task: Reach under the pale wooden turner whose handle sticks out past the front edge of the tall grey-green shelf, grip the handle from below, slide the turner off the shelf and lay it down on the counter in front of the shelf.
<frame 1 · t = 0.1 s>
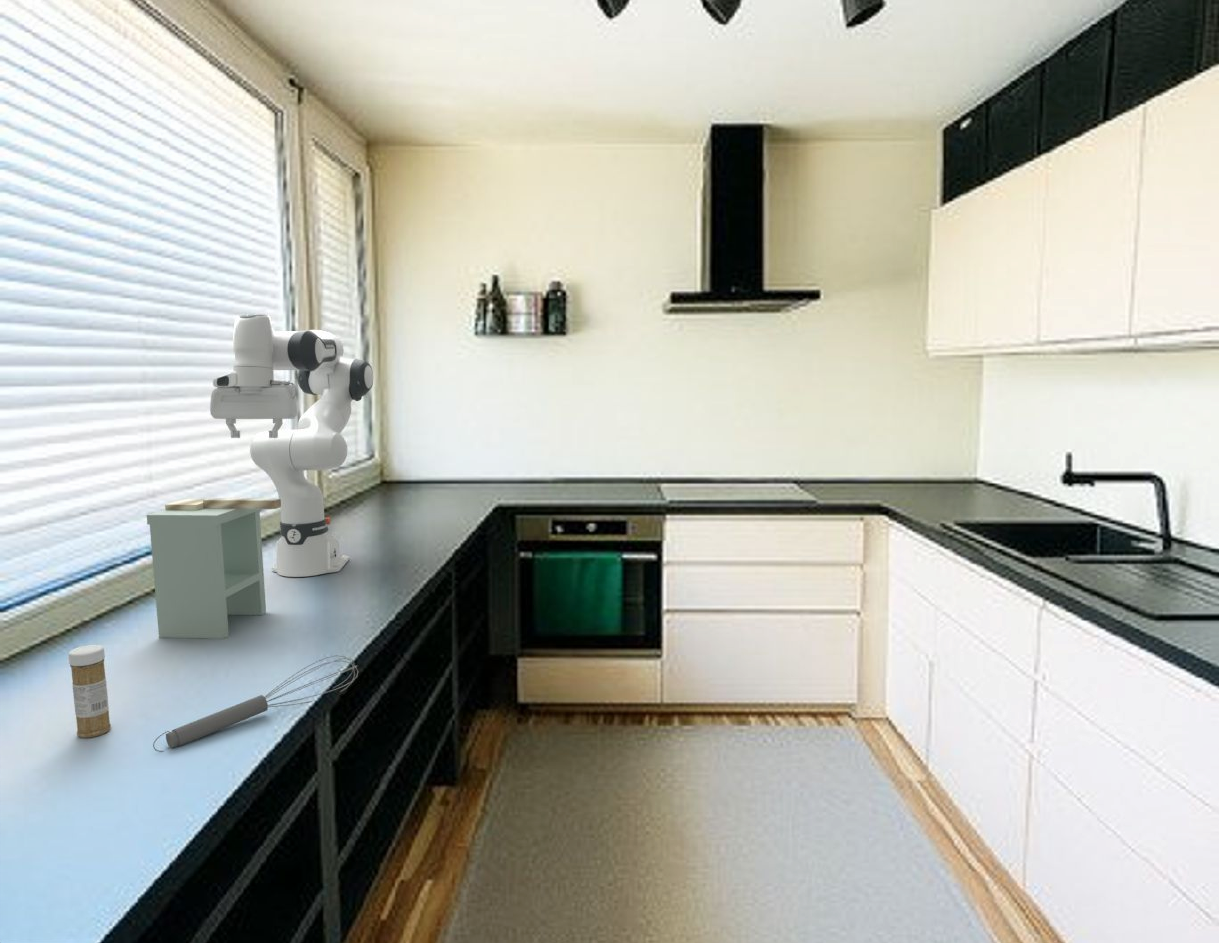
hand: (254, 438, 195), 39 cm above the worktop, tool pointing down, fingers open, 8 cm apart
turner: (206, 507, 174), point 26 cm above the worktop, touching shelf
sprinkles bottle: (94, 733, 126), on the worktop
shelf: (215, 624, 178), on the worktop
kitchen whisk: (269, 717, 132), on the worktop
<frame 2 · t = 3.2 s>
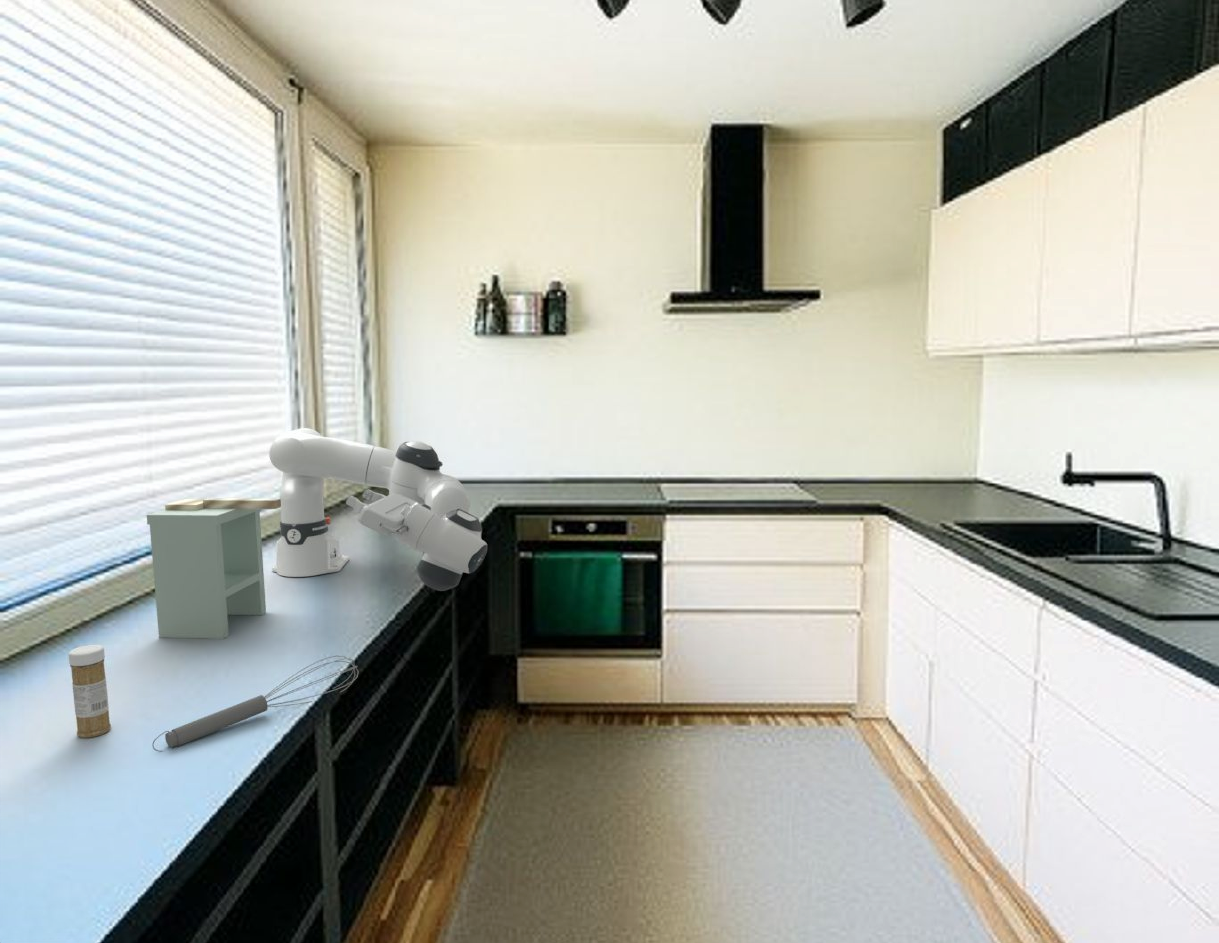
hand: (356, 495, 173), 28 cm above the worktop, tool pointing upward, fingers open, 8 cm apart
nothing on the worktop moved.
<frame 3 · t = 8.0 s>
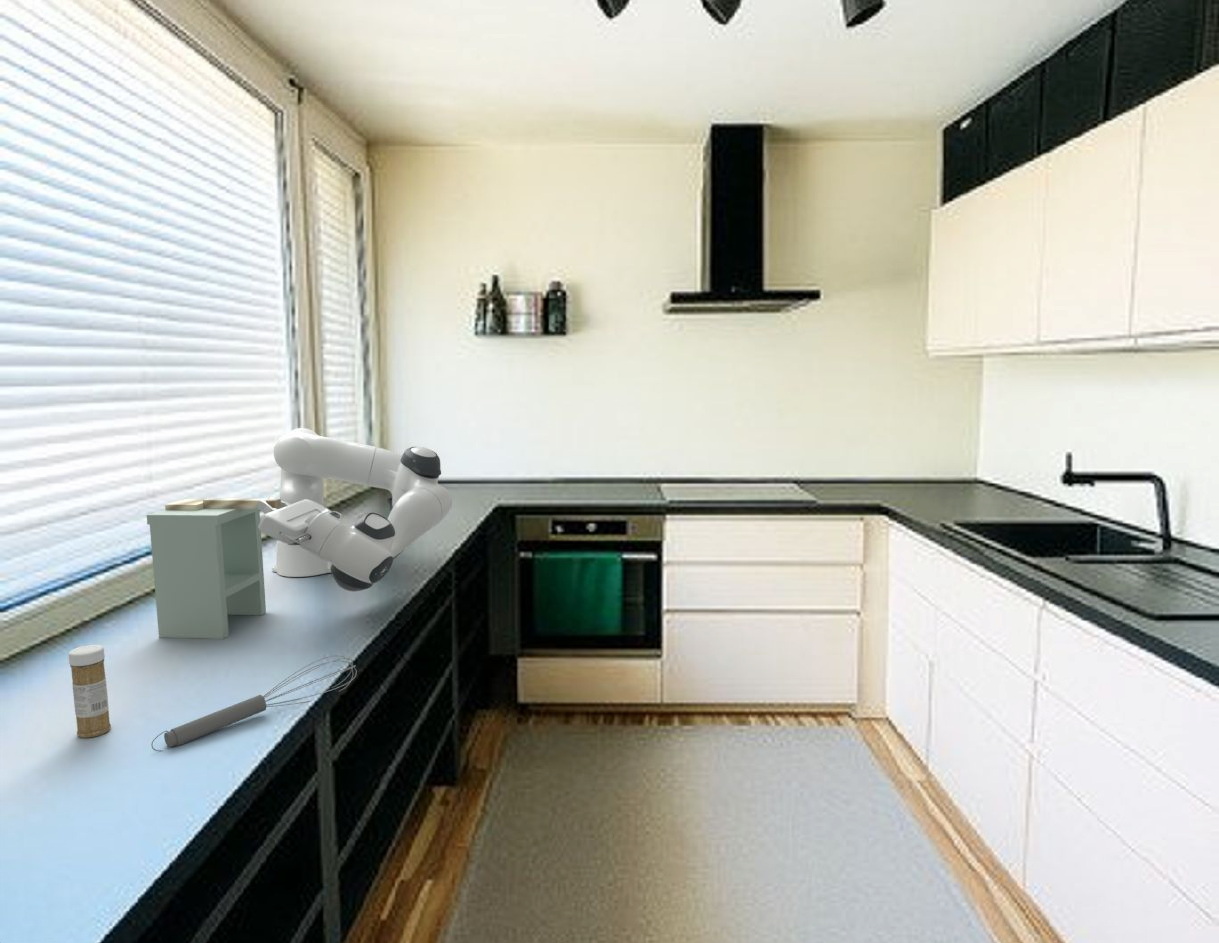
hand: (263, 501, 173), 27 cm above the worktop, tool pointing upward, fingers closed on turner, 2 cm apart
turner: (206, 507, 174), point 26 cm above the worktop, touching gripper, shelf
everything else where it was.
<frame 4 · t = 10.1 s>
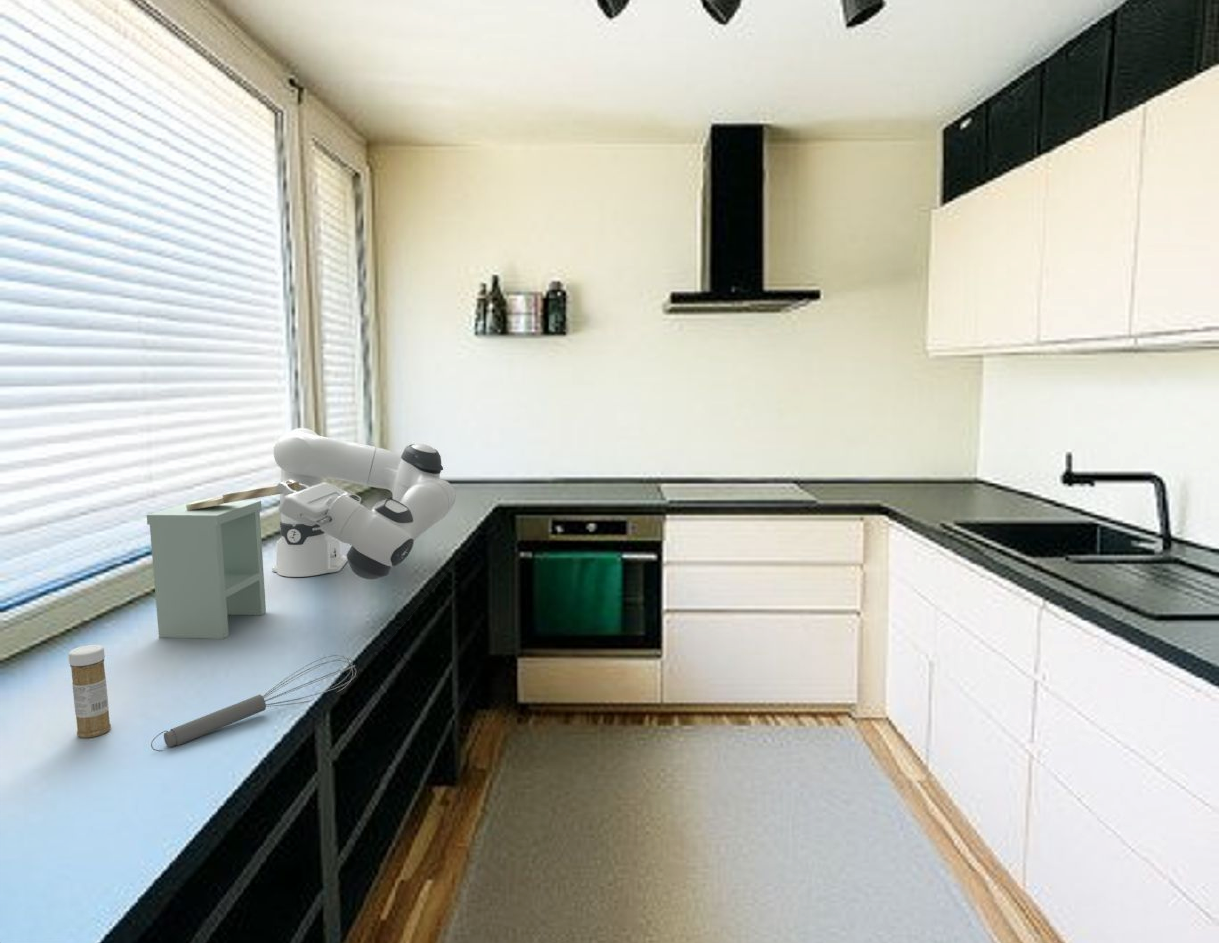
hand: (282, 484, 172), 31 cm above the worktop, tool pointing upward, fingers closed on turner, 2 cm apart
turner: (227, 502, 174), point 27 cm above the worktop, tilted 10°, touching gripper
everything else where it was.
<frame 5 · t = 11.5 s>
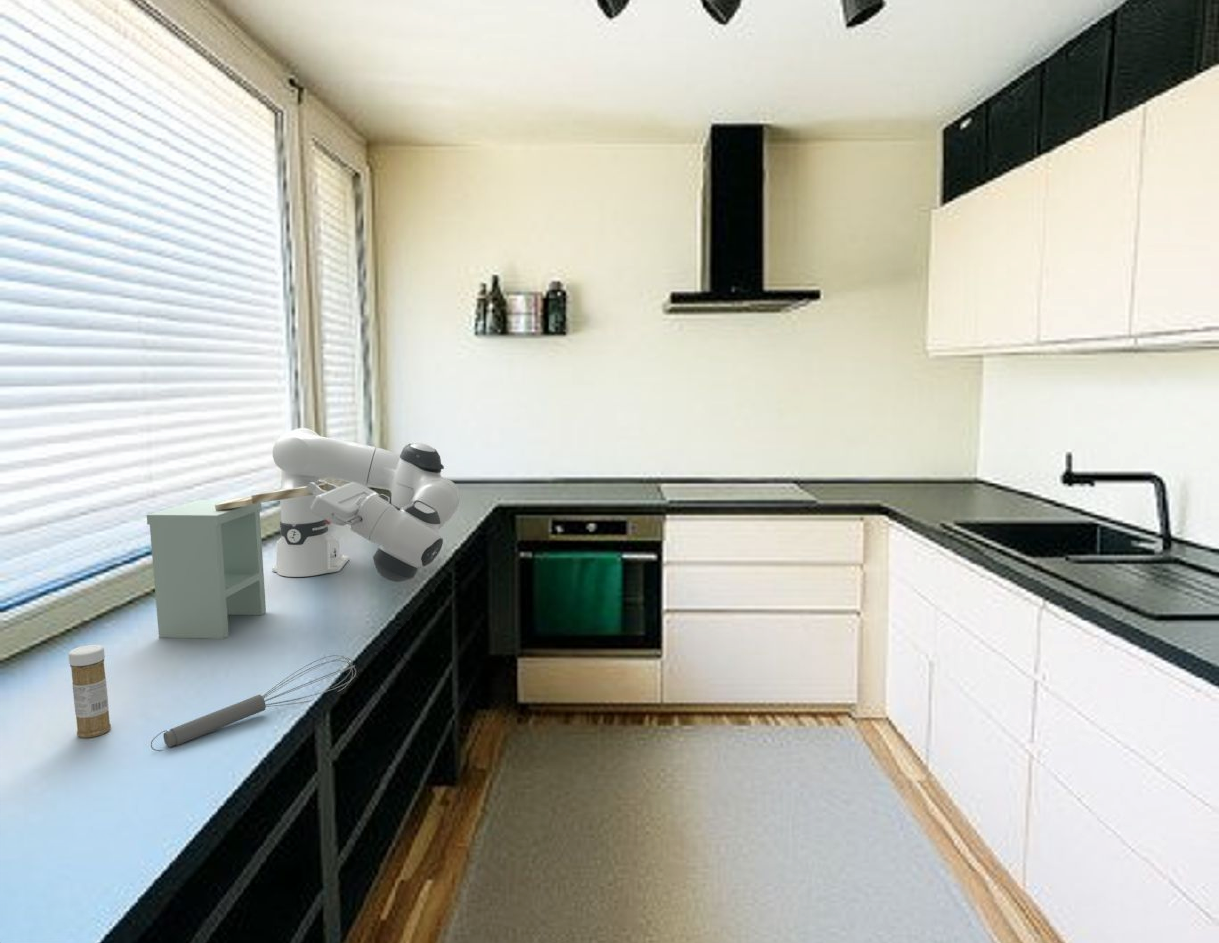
hand: (312, 483, 172), 31 cm above the worktop, tool pointing upward, fingers closed on turner, 2 cm apart
turner: (255, 502, 173), point 27 cm above the worktop, tilted 9°, touching gripper, shelf
everything else where it was.
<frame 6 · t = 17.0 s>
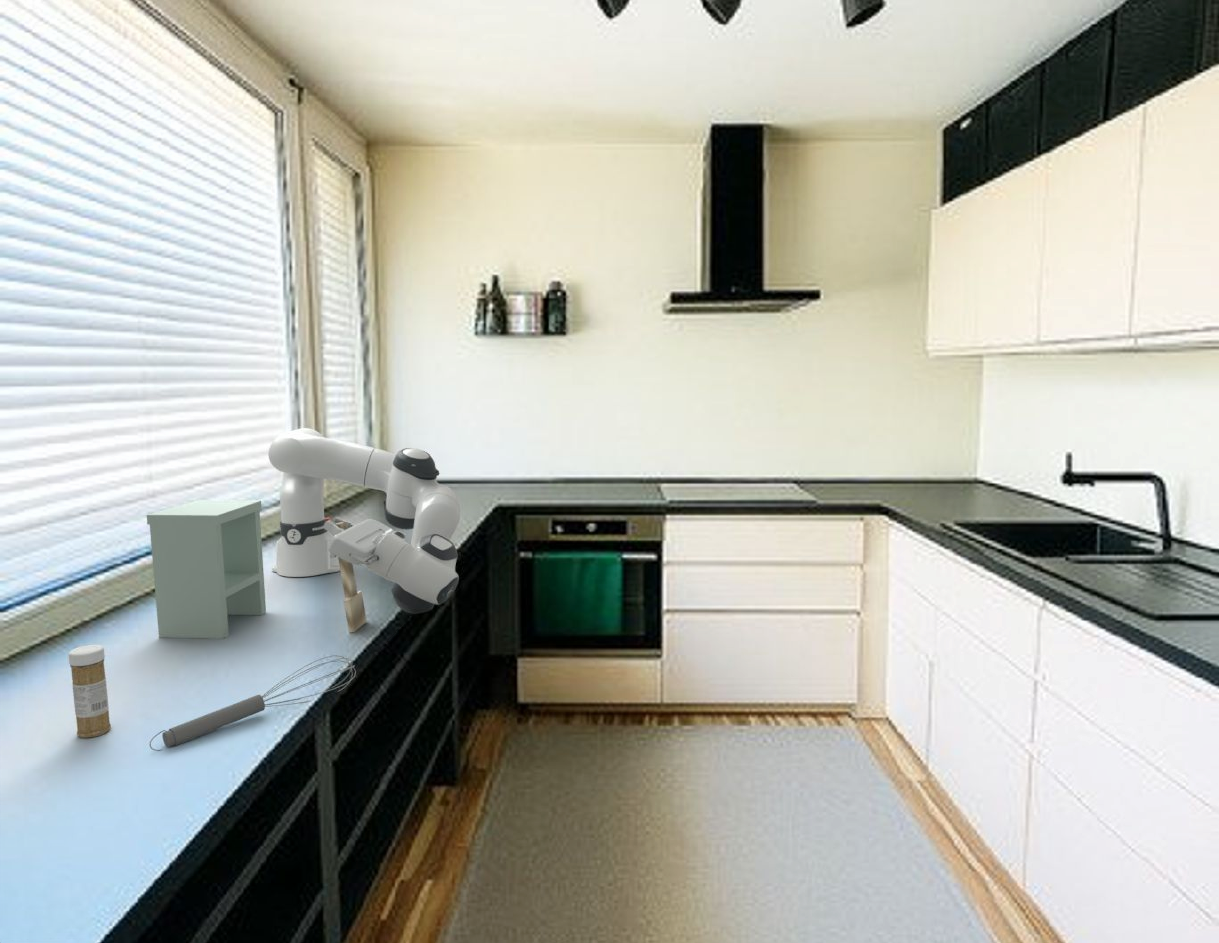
hand: (329, 521, 173), 23 cm above the worktop, tool pointing upward, fingers closed on turner, 2 cm apart
turner: (355, 595, 174), point 7 cm above the worktop, tilted 97°, touching gripper
everything else where it was.
when the fingers open (22 cm above the worktop, at t = 18.1 s): turner drops 5 cm and tips over, point 2 cm above the worktop.
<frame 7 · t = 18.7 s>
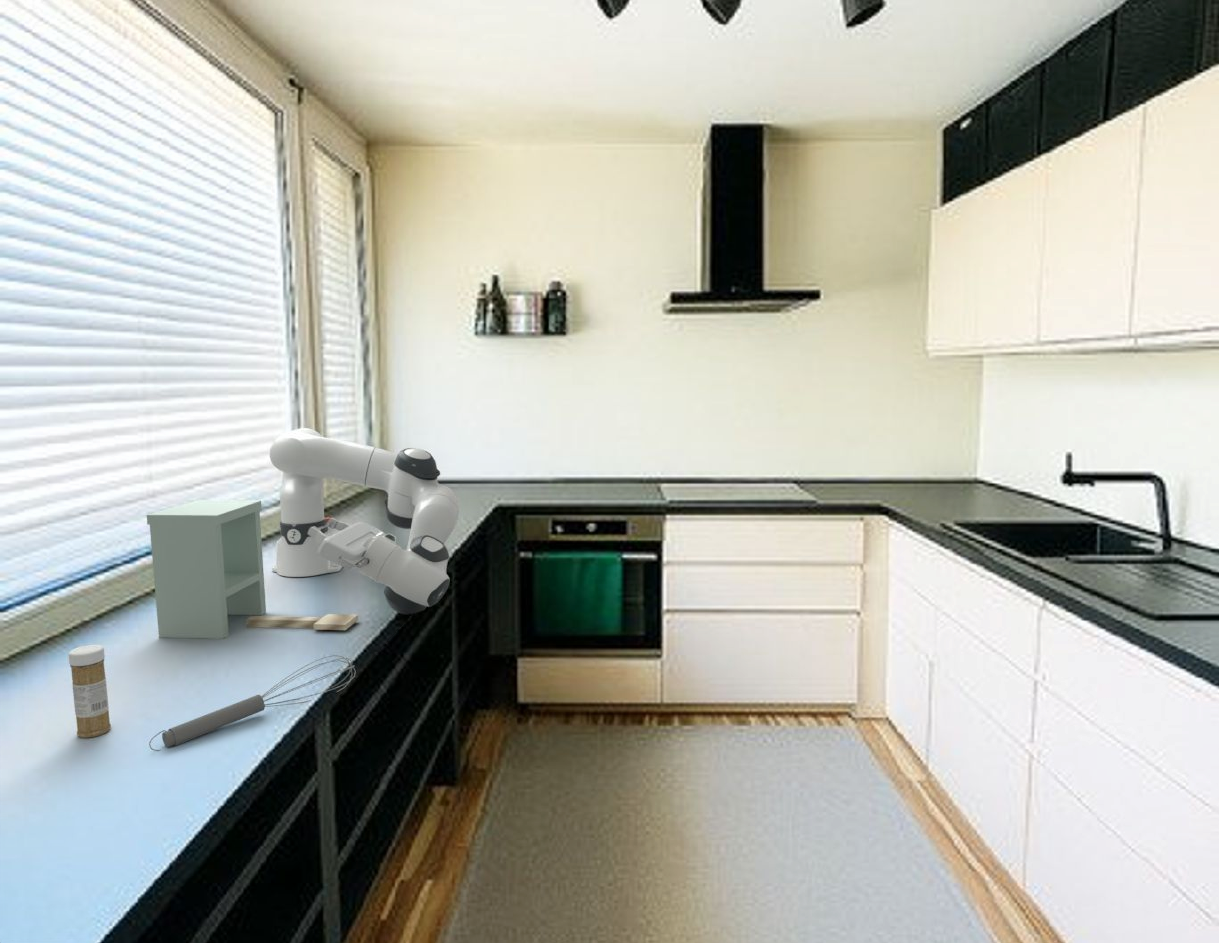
hand: (319, 525, 173), 22 cm above the worktop, tool pointing upward, fingers open, 8 cm apart
turner: (320, 618, 176), point 2 cm above the worktop, tilted 180°
everything else where it was.
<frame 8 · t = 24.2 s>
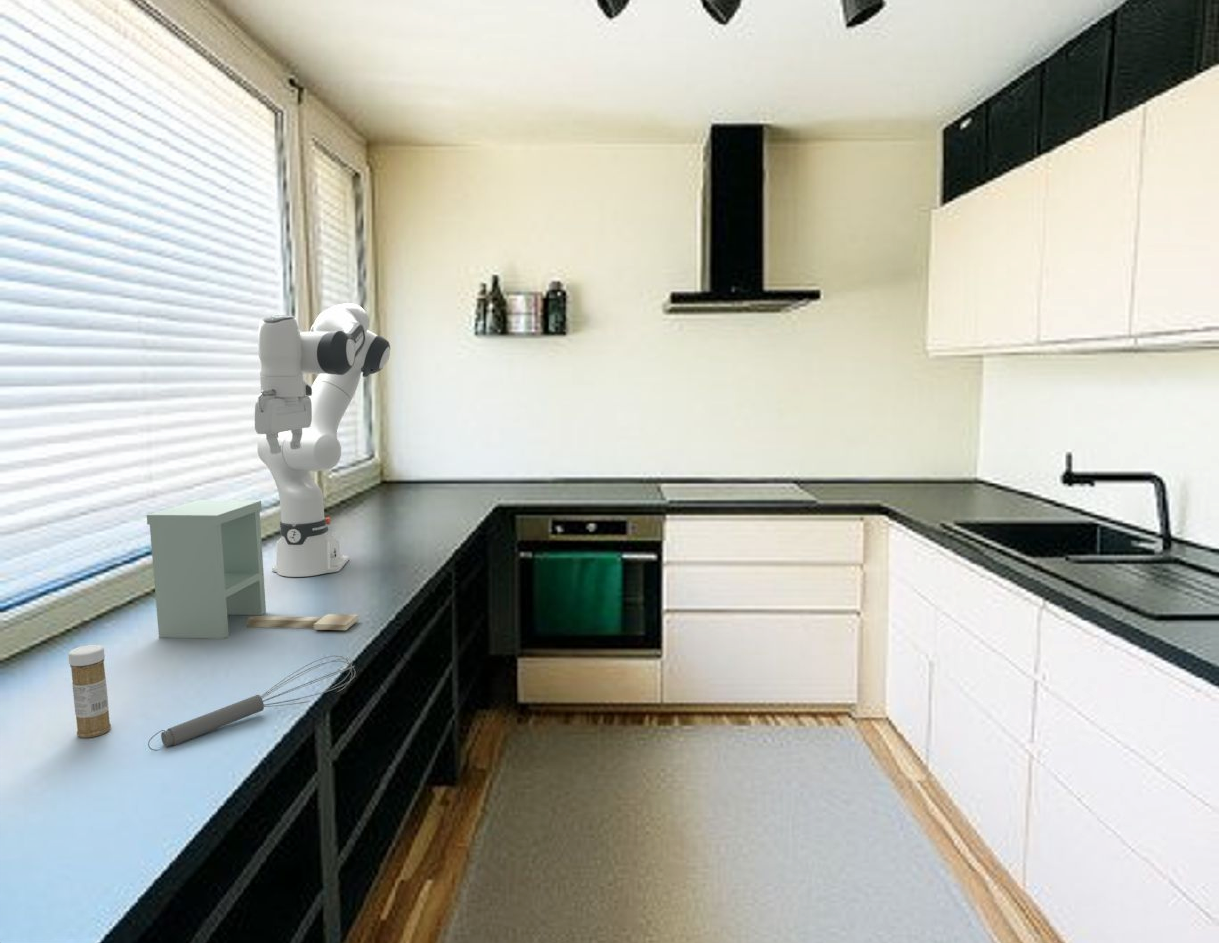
hand: (286, 451, 182), 37 cm above the worktop, tool pointing down, fingers open, 8 cm apart
nothing on the worktop moved.
at the end: turner inside the target area (0.5 cm from its centre), point 1.7 cm above the worktop; turner touching worktop; the gripper is holding nothing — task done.
